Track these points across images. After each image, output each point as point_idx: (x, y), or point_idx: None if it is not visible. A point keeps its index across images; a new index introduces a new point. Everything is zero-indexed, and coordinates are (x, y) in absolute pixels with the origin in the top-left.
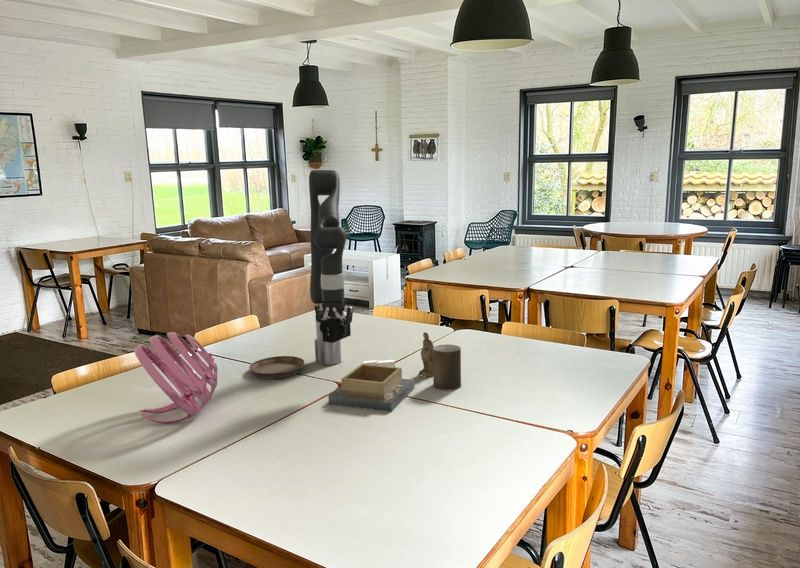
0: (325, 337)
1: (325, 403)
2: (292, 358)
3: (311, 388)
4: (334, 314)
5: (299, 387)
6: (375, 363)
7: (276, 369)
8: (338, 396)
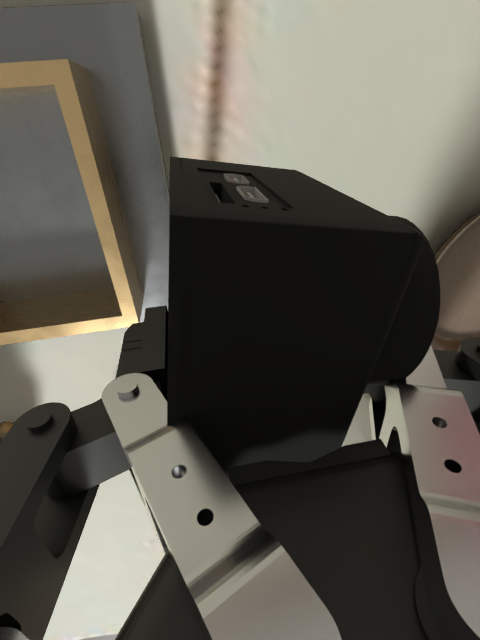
0: (272, 173)
1: (159, 18)
2: None
3: (312, 177)
4: (280, 498)
5: (361, 168)
6: None
7: None
8: (71, 7)
